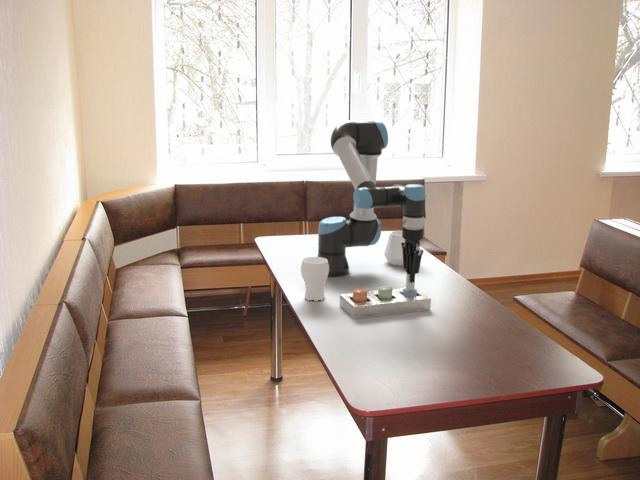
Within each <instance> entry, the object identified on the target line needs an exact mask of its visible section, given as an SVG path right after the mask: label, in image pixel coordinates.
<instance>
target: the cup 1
mask: <svg viewBox="0 0 640 480" xmlns="http://www.w3.org/2000/svg"><path fill="white" fill-rule="evenodd" d="M300 273H301V274H300V275H301V277H302V280H303V282H304V285H305V292H304V297H305V298H306V299H309V300H314V301H313V302H319V301H318V300H321V301H323V299H324V298H325V297H326V296H325V291H324V288H325V282H326V281H327V279H328V277H329V276H328V274H329V264H328V260H327V259H325V258H322V257H317V256H308V257H305V258H303V259H302V260H301V265H300ZM305 298H304V299H305ZM306 299H305V300H306ZM309 300H308V301H309ZM324 300H325V299H324Z"/></svg>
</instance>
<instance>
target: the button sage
mask: <svg viewBox="0 0 640 480" xmlns="http://www.w3.org/2000/svg"><path fill="white" fill-rule="evenodd" d="M393 289H394V288H393V287H391V286H384V285H383V286H379V287H378V289H377V290H378V298H379V299H380V300H387V299H392V292H393Z"/></svg>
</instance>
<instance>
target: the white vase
mask: <svg viewBox="0 0 640 480" xmlns="http://www.w3.org/2000/svg"><path fill="white" fill-rule="evenodd" d="M403 242H405V239H404V238H403V237H402V230H392V231H390V232H389V234H388V239H387V242H386V245H385V248H384V252H383V255H384V257H385V259H386V261H387V262H388V264H389V265H392V266H403V251H402V245H401V243H403Z"/></svg>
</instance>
